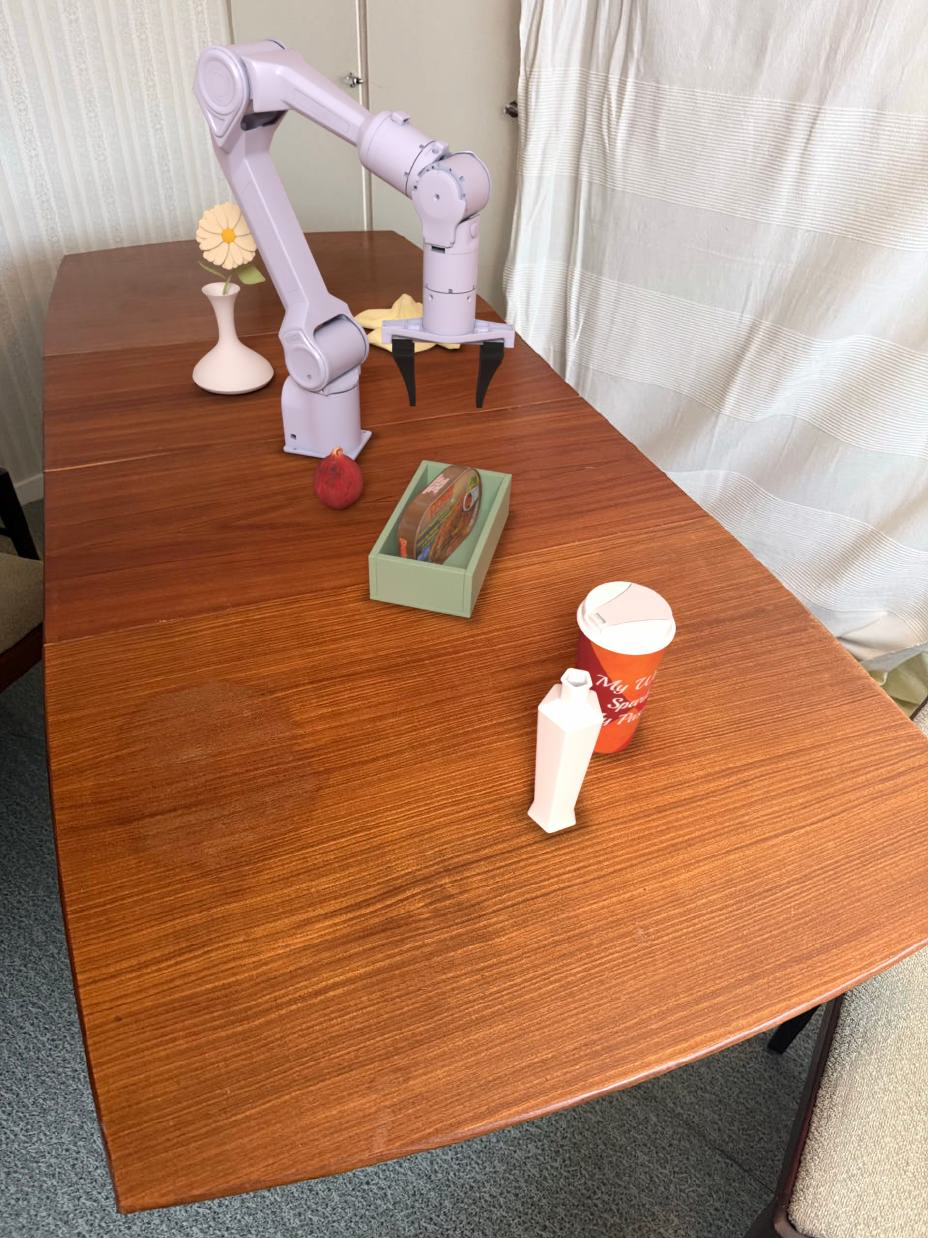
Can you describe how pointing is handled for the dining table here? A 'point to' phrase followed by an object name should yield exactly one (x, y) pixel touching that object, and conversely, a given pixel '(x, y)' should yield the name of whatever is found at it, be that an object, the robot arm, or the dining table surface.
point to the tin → (440, 516)
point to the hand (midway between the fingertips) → (445, 403)
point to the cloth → (399, 310)
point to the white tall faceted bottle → (564, 748)
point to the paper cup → (622, 654)
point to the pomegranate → (338, 480)
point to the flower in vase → (229, 304)
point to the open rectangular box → (462, 570)
